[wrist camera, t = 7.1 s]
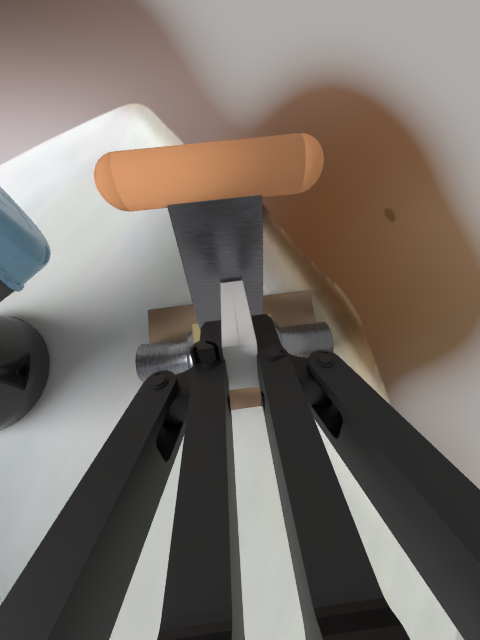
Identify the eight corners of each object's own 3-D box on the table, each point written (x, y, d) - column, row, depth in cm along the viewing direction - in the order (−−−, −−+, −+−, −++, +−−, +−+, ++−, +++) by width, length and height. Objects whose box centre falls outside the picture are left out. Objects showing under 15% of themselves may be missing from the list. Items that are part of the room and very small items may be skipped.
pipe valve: (324, 394, 30) (359, 407, 21) (158, 417, 29) (125, 439, 21) (306, 293, 32) (329, 269, 24) (152, 312, 31) (121, 294, 23)
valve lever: (299, 361, 21) (338, 131, 10) (173, 377, 20) (71, 157, 10) (291, 339, 23) (315, 130, 12) (177, 353, 22) (96, 151, 12)
